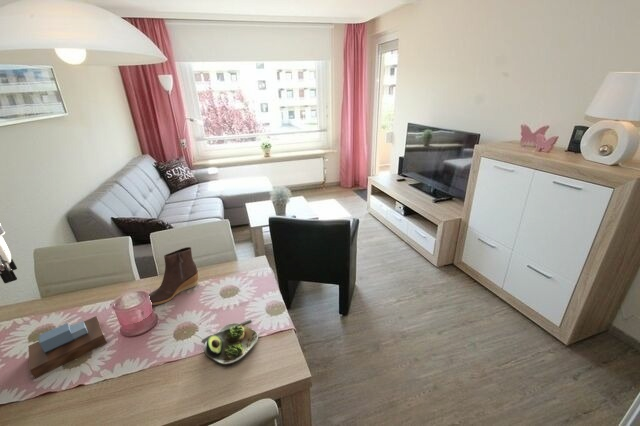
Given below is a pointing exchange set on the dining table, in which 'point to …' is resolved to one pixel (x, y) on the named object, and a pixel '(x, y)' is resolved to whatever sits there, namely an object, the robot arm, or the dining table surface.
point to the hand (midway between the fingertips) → (11, 275)
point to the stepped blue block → (61, 336)
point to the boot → (176, 276)
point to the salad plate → (230, 343)
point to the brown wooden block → (65, 350)
